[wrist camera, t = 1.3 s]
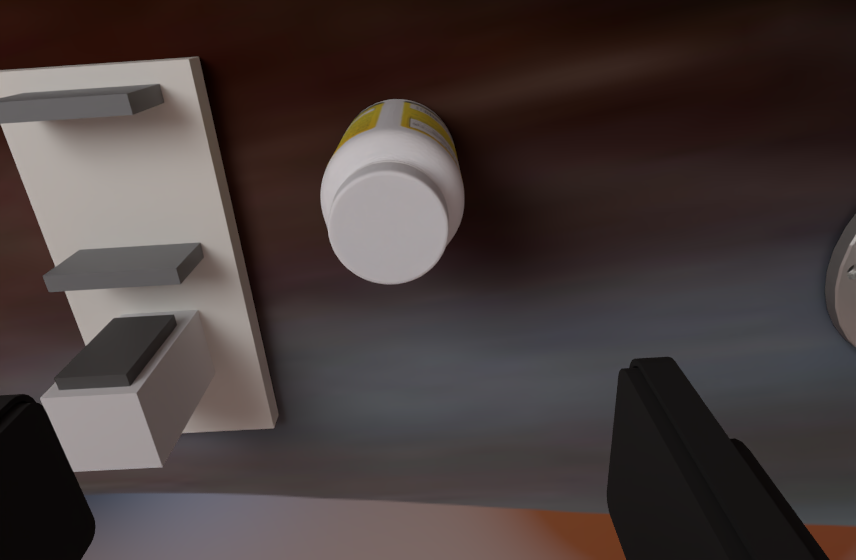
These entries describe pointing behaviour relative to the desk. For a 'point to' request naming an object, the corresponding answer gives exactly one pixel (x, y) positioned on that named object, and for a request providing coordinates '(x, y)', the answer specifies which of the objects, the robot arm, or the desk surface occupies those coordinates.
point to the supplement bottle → (393, 192)
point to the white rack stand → (138, 258)
